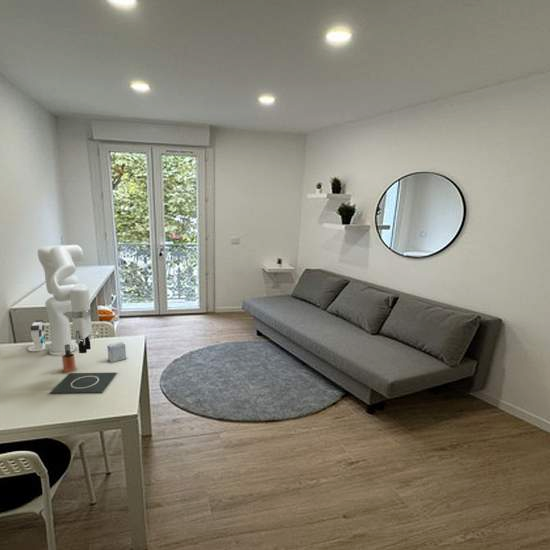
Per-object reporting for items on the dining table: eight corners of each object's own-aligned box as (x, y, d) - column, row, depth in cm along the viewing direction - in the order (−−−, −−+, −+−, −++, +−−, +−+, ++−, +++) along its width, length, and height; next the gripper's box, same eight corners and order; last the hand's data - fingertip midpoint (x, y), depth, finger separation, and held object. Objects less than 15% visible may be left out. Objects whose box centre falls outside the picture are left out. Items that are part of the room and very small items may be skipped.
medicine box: (123, 356, 194) (122, 341, 193) (126, 358, 191) (125, 343, 190) (108, 360, 189) (107, 345, 187) (111, 363, 186) (110, 347, 184)
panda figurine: (48, 350, 199) (45, 325, 196) (24, 352, 195) (21, 327, 192) (53, 342, 210) (50, 318, 207) (30, 344, 206) (27, 320, 203)
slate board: (50, 393, 156) (50, 392, 155) (69, 374, 173) (69, 373, 173) (101, 392, 158) (101, 391, 157) (116, 373, 175) (116, 372, 175)
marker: (66, 370, 176) (63, 346, 173) (68, 368, 178) (65, 344, 175) (70, 370, 176) (68, 346, 173) (73, 368, 178) (70, 344, 175)
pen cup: (61, 373, 174) (60, 358, 172) (66, 368, 179) (65, 353, 178) (72, 372, 175) (71, 357, 173) (77, 368, 180) (76, 353, 178)
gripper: (81, 308, 170) (84, 344, 173) (63, 319, 154) (67, 358, 157) (97, 308, 170) (100, 344, 174) (81, 319, 154) (85, 358, 158)
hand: (84, 350), depth 165 cm, fingers open, 3 cm apart
